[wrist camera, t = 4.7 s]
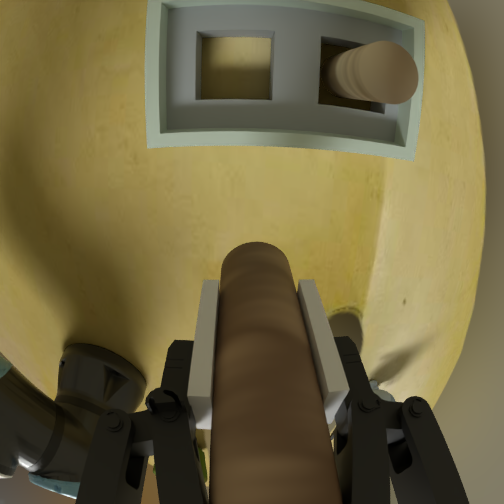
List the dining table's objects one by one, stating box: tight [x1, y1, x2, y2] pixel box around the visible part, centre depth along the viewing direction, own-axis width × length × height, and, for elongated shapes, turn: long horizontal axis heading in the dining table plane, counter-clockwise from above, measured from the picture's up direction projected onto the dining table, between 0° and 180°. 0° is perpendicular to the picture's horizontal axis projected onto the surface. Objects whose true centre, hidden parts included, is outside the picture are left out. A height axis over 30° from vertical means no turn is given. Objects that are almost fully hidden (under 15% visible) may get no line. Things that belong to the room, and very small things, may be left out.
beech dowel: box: [320, 41, 419, 104], centre depth 17 cm, size 4×4×9 cm
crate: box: [145, 0, 425, 161], centre depth 18 cm, size 20×12×5 cm, turn 88°
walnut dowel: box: [209, 242, 343, 504], centre depth 11 cm, size 4×4×14 cm
